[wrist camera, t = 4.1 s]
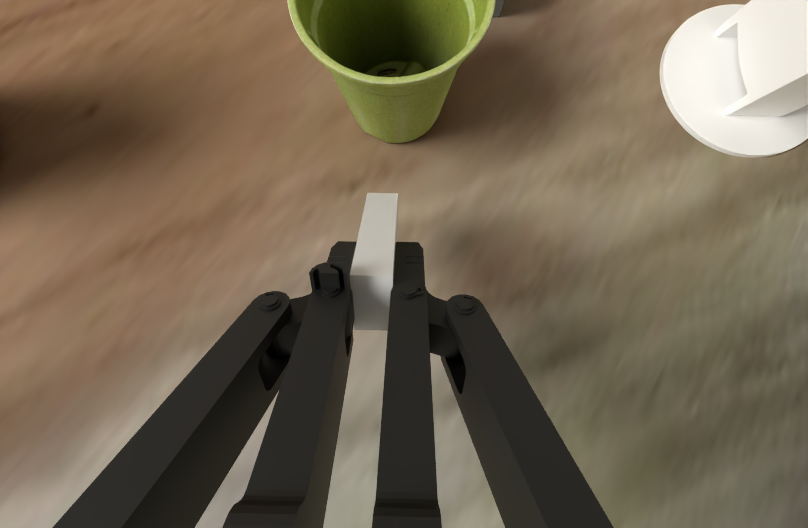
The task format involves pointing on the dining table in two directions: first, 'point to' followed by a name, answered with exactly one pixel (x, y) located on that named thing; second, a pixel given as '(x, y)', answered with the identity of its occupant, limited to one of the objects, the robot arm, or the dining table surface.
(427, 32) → the plant pot
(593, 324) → the dining table surface
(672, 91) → the panda figurine
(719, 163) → the dining table surface
